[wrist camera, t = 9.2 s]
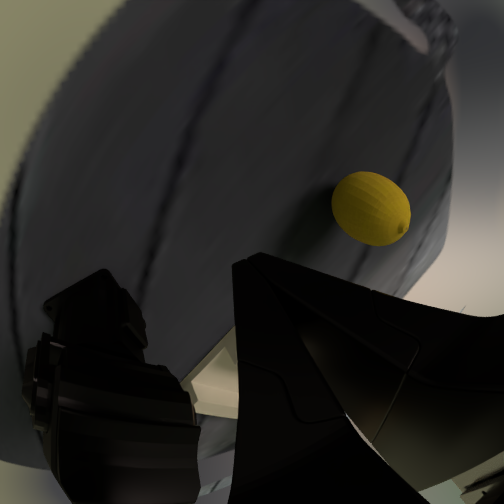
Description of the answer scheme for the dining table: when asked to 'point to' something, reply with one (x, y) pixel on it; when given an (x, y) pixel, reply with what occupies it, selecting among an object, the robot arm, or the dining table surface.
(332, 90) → the dining table surface
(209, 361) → the chute
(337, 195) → the lemon
